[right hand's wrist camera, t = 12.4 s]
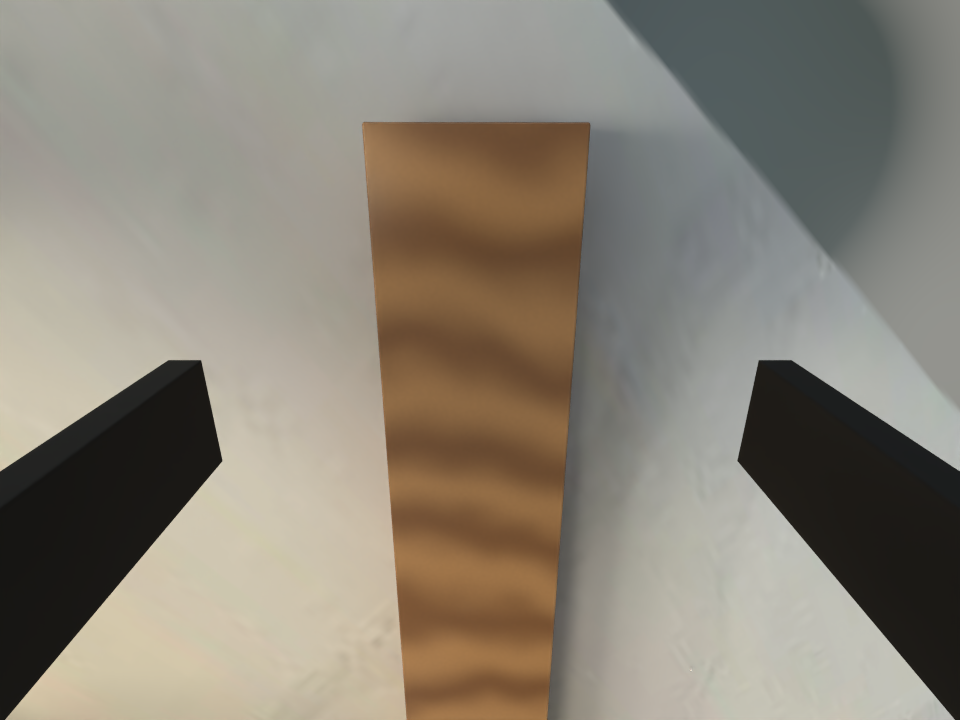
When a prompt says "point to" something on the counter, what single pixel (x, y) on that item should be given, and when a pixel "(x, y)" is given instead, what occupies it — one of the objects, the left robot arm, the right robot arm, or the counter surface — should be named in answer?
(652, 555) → the counter surface
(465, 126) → the wooden beam
